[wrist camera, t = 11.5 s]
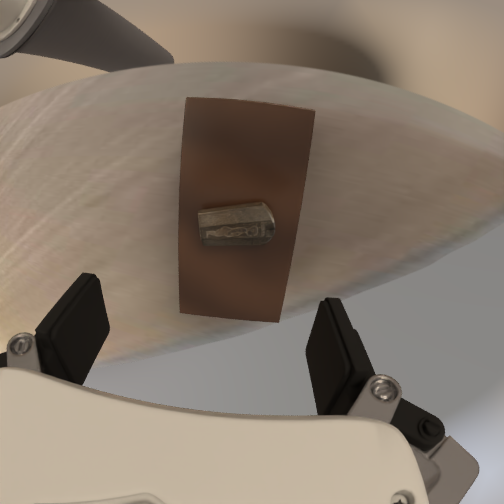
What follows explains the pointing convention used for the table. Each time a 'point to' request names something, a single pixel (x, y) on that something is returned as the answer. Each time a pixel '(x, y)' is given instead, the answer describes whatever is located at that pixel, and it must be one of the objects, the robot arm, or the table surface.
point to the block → (236, 225)
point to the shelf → (240, 202)
